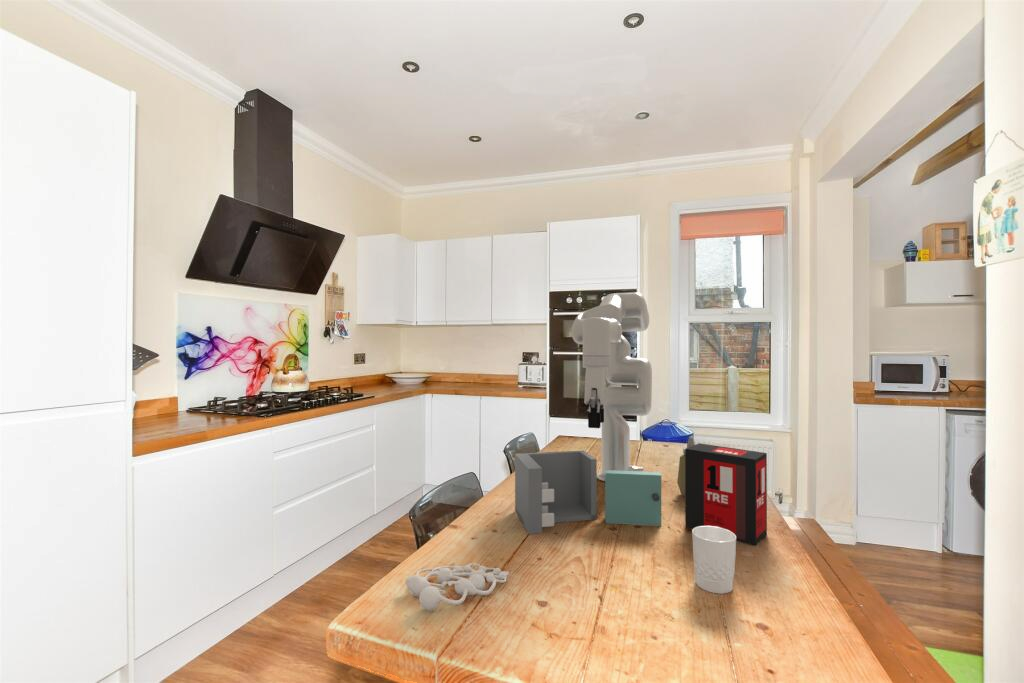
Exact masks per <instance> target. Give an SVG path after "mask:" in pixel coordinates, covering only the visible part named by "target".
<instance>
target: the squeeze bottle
mask: <svg viewBox="0 0 1024 683" xmlns="http://www.w3.org/2000/svg"><path fill="white" fill-rule="evenodd" d="M693 445H696V444H695V440H694V436H689V437H688V441H687V445H686V447H683V448H682V455H681V456H680V457H679V461H678V462H679V463H678V473H677V486H678V489H679V492H680V495H681V496H682V497H684V498H685V449H686V448H688V447H691V446H693Z"/></svg>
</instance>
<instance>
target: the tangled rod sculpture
mask: <svg viewBox="0 0 1024 683" xmlns="http://www.w3.org/2000/svg"><path fill="white" fill-rule="evenodd" d="M472 566H475V567H478V568H477V570H475V569H474V568H472ZM451 569H453V570H451ZM487 571H489V572H487ZM490 571H491V572H490ZM423 572H424V573H425V572H429V573H427V574H426V575H425V576H419V574H421V573H423ZM508 575H509V571H506V570H505V571H503V570H502V569H501V568H499V567H496V568H495V567H486V566H485V565H480V564H479V563H475V562H471V563H469V564H466V565H444V566H443V565H442V566H439V567H432V568H424V569H423V568H422V569H419V570H417V571H416V573H415V574H414V575H409V576H407V578H405V585H406V587H407V589H408V591H409V592H411V594H412V595H413V596H414V597H418V602H419V604H420V606H421V608H422V609H424V610H425V611H433V610H436V608H437V607H439V605H440V603H441V602H443V603H445V604H448V605H452V606H453V605H454V606H458V605H462V604H463V603H464V602H465V600H466V599H467V595H471V596H474V595H479V596H480V595H481V596H488V595H490V594H491V593H492V592H493V590H494V589H495V588H496V585H497V582H498V583H500V584H504V583H506V582H507V578H508ZM433 576H437V577H436V579H437V580H438V582H439V583H440V584H439V583H433V582H429V580H428V579H429V578H432V577H433ZM466 577H469V578H466ZM486 581H487V583H488V584H491V585H490V587H489V589H487V590H485V587H486ZM446 585H447V586H449V587H451V586H452V585H454V591H455V592H456V593H457V594H458V595H462V596H461V598H459V599H458V600H457V599H456V600H453V599H451V598H447V597H444V595H446V594H447V591H446V590H445V589H444V588H445V586H446Z"/></svg>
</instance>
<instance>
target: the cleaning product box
mask: <svg viewBox="0 0 1024 683" xmlns="http://www.w3.org/2000/svg"><path fill="white" fill-rule="evenodd" d="M685 448H686V449H685V497H684V500H685V501H684V502H685V504H684V505H685V511H684V514H685V518H684V520H685V528H687V529H690V530H693V528H695V527H698V526H714V527H720V528H723V529H726V530H729V531H731V532H732V533H734V534H735V535H736V542H738V543H742V544H746V545H750V546H752V547H757V545H759V543H760V542H762V541H763V539H765V538H766V536H768V530H767V529H768V528H767V526H768V521H767V518H768V512H767V511H768V510H767V508H768V506H767V505H768V498H767V497H768V496H767V495H768V490H767V489H768V487H767V486H768V485H767V482H768V479H767V478H768V477H767V476H768V475H767V474H768V473H767V470H768V469H767V466H768V464H767V463H768V462H767V460H768V459H767V458H768V457H767V456H768V454H767V452H764V451H763V452H761V451H757V450H756V451H755V450H747V449H743V448H742V449H741V448H734V447H727V446H721V445H720V446H719V445H712V444H706V443H696V444H695V445H693V446H691V447H688V448H687V447H685Z"/></svg>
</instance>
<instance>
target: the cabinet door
mask: <svg viewBox="0 0 1024 683" xmlns="http://www.w3.org/2000/svg"><path fill="white" fill-rule="evenodd" d="M604 482H605V483H604V492H605V493H604V501H605V502H604V505H605V506H604V511H605V512H604V513H605V514H604V516H605V517H604V519H605V523H606V524H618V525H619V524H621V525H638V526H654V527H656V526H657V527H662V473H661V472H660V471H643V472H641V471H615V470H605V481H604Z"/></svg>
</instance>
